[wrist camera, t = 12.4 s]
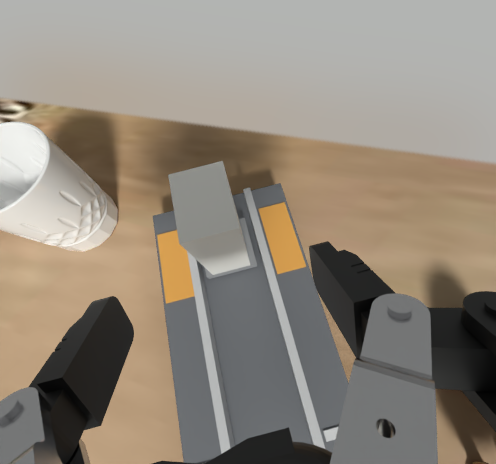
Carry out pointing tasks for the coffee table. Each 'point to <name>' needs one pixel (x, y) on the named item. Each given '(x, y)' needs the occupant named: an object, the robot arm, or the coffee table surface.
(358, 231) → the coffee table surface
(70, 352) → the robot arm
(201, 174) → the fader knob
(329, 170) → the coffee table surface
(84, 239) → the white cup
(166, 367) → the coffee table surface
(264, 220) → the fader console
